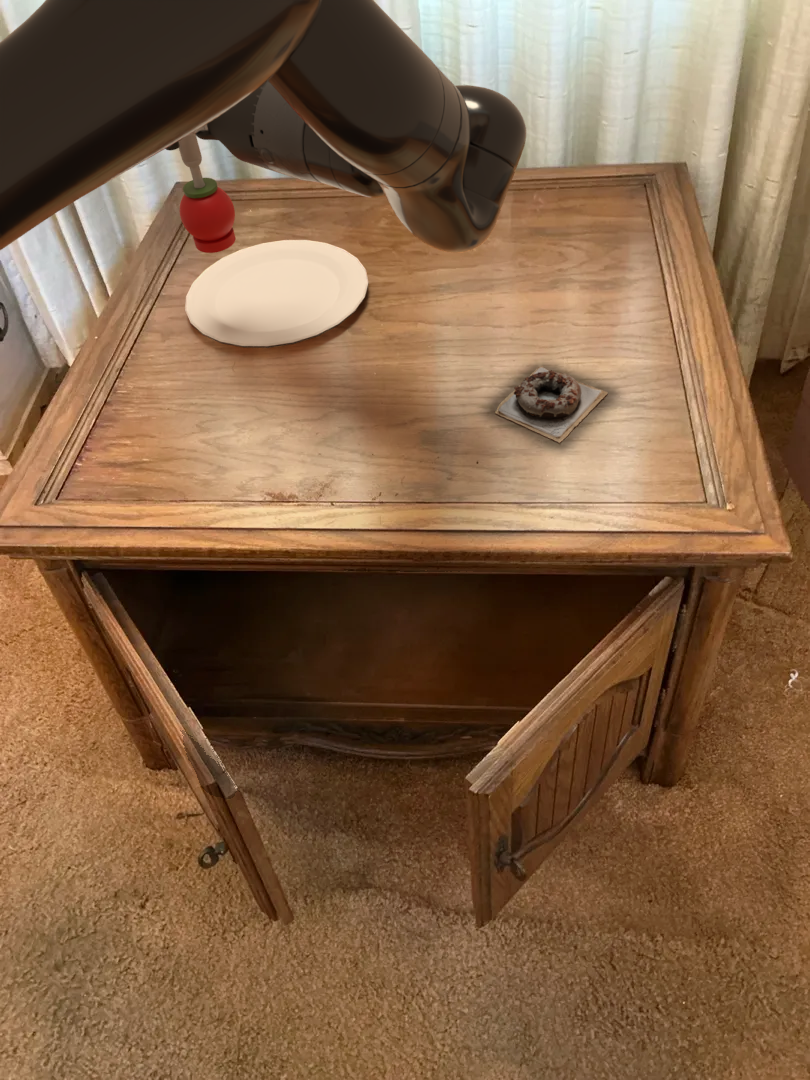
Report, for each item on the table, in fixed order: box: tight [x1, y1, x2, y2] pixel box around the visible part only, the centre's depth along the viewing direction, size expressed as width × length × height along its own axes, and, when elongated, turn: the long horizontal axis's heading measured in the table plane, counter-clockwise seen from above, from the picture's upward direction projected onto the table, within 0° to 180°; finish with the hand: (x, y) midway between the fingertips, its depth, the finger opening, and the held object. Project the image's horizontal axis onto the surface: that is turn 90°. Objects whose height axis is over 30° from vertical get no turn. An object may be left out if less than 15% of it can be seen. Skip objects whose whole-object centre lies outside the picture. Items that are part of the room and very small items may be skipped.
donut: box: [494, 366, 609, 444], centre depth 81 cm, size 8×8×2 cm
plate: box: [184, 239, 369, 349], centre depth 96 cm, size 21×21×2 cm
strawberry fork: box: [178, 134, 236, 254], centre depth 78 cm, size 5×5×16 cm
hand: (150, 83), depth 74 cm, fingers closed on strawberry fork
